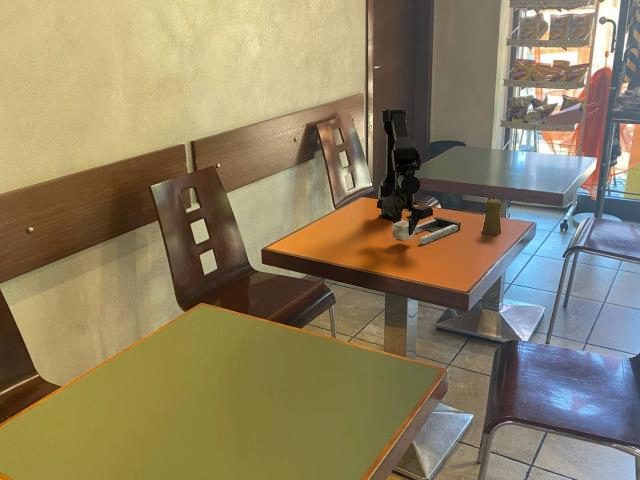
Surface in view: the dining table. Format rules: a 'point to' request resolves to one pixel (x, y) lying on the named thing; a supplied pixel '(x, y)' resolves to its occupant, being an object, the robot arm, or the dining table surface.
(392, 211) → the robot arm
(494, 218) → the olive tapered tower
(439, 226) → the trap channel
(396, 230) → the cream block
